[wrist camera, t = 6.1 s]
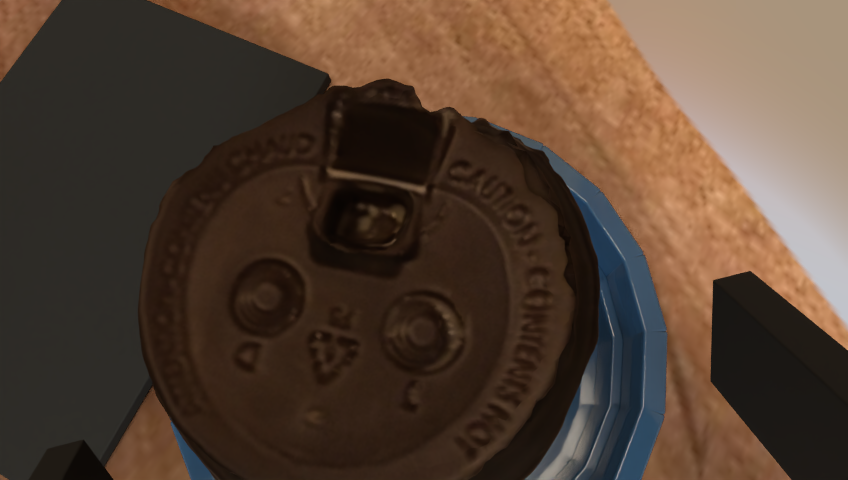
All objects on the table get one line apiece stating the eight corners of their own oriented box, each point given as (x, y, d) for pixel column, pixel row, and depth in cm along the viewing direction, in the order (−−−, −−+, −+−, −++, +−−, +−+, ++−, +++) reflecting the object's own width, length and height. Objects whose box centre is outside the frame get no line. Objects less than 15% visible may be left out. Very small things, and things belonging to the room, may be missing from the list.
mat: (-183, 348, 24) (-199, 347, 23) (88, -18, 28) (81, -27, 27) (76, 514, 21) (66, 517, 20) (331, 80, 25) (328, 73, 25)
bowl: (160, 444, 22) (72, 455, 17) (345, 120, 25) (315, 52, 20) (525, 658, 19) (544, 746, 14) (679, 260, 22) (737, 220, 17)
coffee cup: (442, 201, 23) (411, -39, 10) (583, 364, 21) (756, 307, 8) (268, 336, 22) (4, 248, 9) (396, 523, 20) (274, 728, 7)
